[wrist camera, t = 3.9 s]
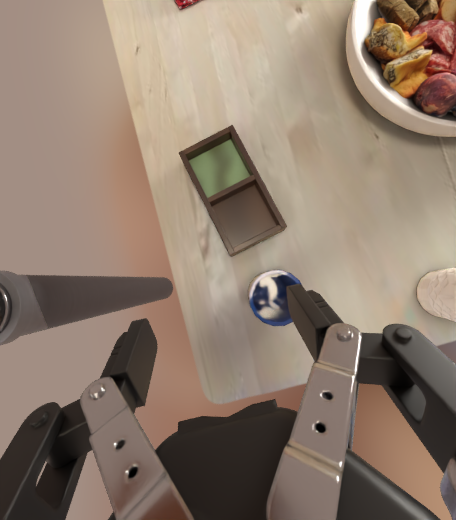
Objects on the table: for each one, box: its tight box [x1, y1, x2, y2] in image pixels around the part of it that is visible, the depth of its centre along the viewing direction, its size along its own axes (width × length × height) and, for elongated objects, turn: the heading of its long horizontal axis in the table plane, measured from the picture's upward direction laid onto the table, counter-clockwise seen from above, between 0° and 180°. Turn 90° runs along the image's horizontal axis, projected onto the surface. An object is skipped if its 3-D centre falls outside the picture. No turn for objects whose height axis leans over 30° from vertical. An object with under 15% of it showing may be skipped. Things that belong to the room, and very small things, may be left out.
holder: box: [179, 125, 287, 257], centre depth 36 cm, size 9×17×3 cm, turn 26°
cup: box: [248, 270, 301, 326], centre depth 30 cm, size 6×6×10 cm
